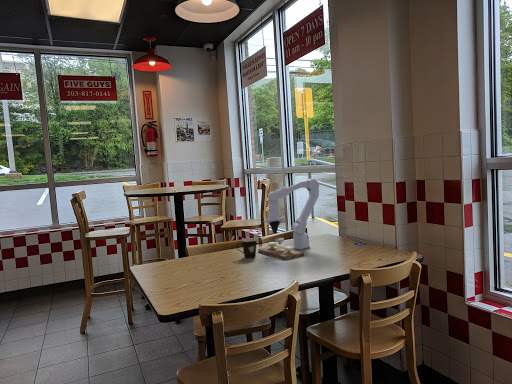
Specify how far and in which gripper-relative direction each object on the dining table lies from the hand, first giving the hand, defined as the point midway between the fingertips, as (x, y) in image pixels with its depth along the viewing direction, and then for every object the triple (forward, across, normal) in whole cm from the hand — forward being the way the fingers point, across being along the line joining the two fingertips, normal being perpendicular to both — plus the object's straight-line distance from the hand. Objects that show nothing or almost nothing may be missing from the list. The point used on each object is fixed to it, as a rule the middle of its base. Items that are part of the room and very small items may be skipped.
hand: (274, 233), depth 234 cm
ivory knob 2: (+8, +4, +18) cm, 20 cm away
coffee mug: (+11, +22, +2) cm, 24 cm away
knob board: (+10, +4, +10) cm, 15 cm away
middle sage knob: (+4, +4, +10) cm, 12 cm away
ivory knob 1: (+8, +4, +2) cm, 9 cm away
